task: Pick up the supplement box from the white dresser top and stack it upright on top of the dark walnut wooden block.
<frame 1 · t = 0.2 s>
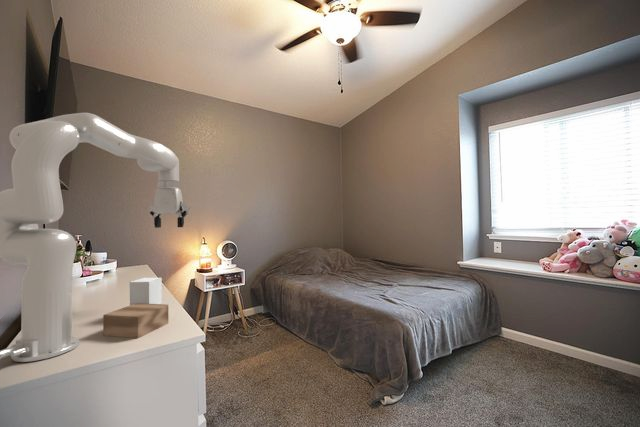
hand: (169, 227, 118), 31 cm above the dresser top, tool pointing down, fingers open, 9 cm apart
walnut block: (137, 328, 89), on the dresser top
supplement box: (146, 315, 102), on the dresser top
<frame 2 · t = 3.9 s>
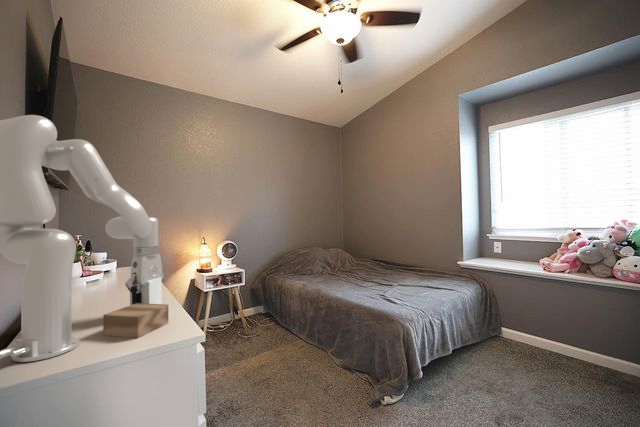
hand: (146, 300, 102), 5 cm above the dresser top, tool pointing down, fingers closed on supplement box, 7 cm apart
supplement box: (146, 315, 102), on the dresser top, touching gripper
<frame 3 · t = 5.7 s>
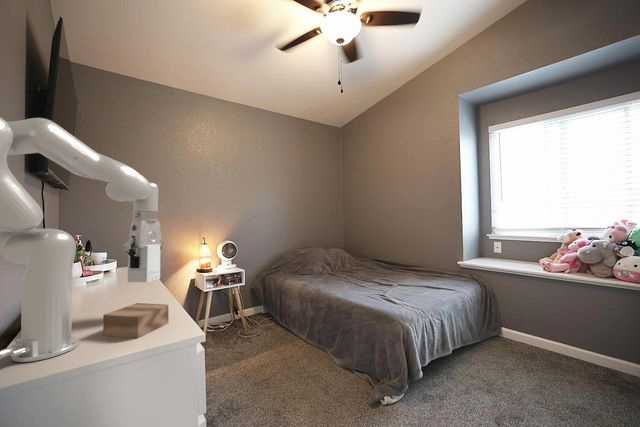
hand: (144, 266, 102), 17 cm above the dresser top, tool pointing down, fingers closed on supplement box, 7 cm apart
supplement box: (144, 281, 102), point 12 cm above the dresser top, touching gripper
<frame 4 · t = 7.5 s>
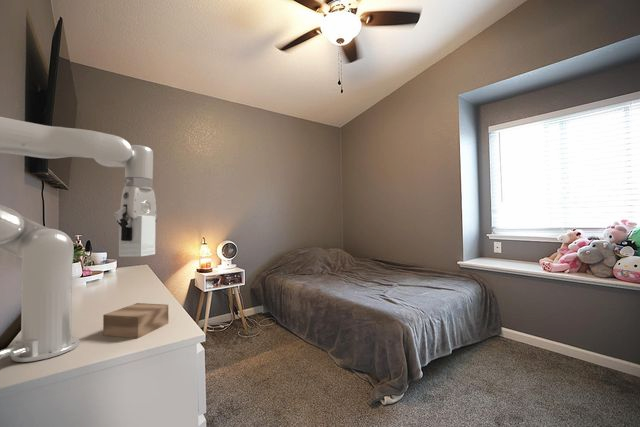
hand: (137, 239, 91), 27 cm above the dresser top, tool pointing down, fingers closed on supplement box, 7 cm apart
supplement box: (137, 256, 91), point 22 cm above the dresser top, touching gripper
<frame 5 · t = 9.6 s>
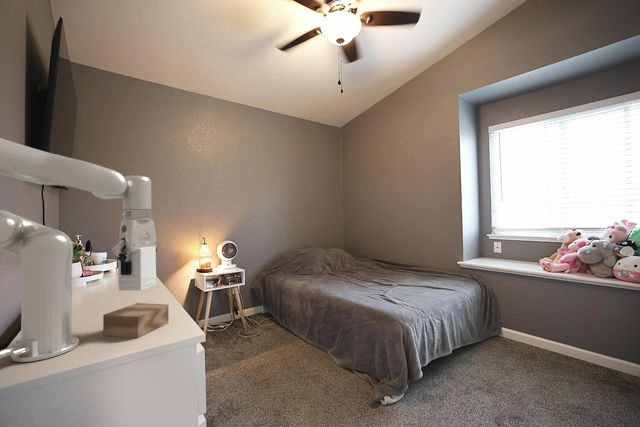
hand: (137, 271, 89), 18 cm above the dresser top, tool pointing down, fingers closed on supplement box, 7 cm apart
supplement box: (138, 288, 89), point 12 cm above the dresser top, touching gripper
when the fingers open (12 cm above the dresser top, at t = 11.3 s): supplement box drops 1 cm, resting on walnut block.
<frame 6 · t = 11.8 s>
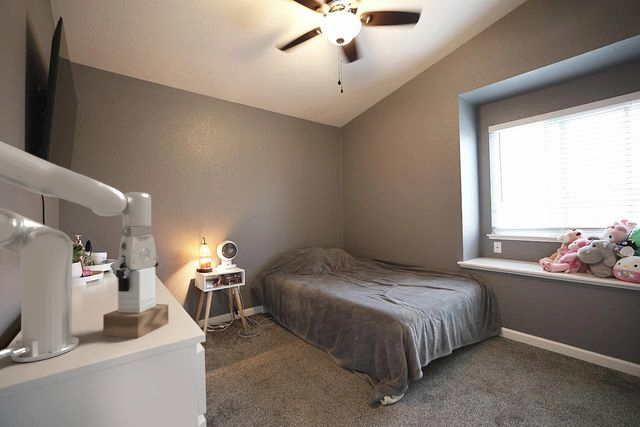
hand: (137, 287, 89), 13 cm above the dresser top, tool pointing down, fingers open, 9 cm apart
supplement box: (137, 310, 89), point 6 cm above the dresser top, touching walnut block
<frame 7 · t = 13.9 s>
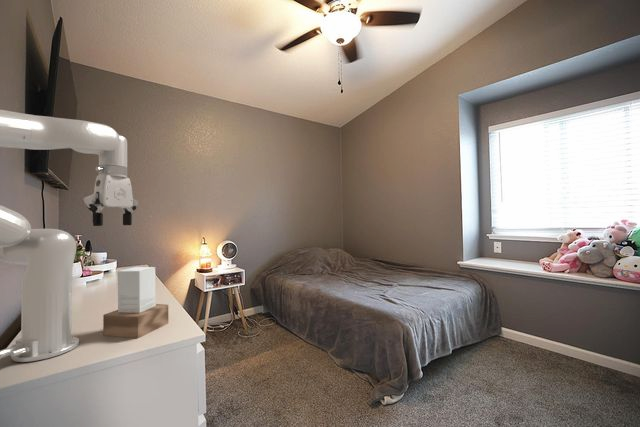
hand: (113, 225, 93), 32 cm above the dresser top, tool pointing down, fingers open, 9 cm apart
nothing on the dresser top moved.
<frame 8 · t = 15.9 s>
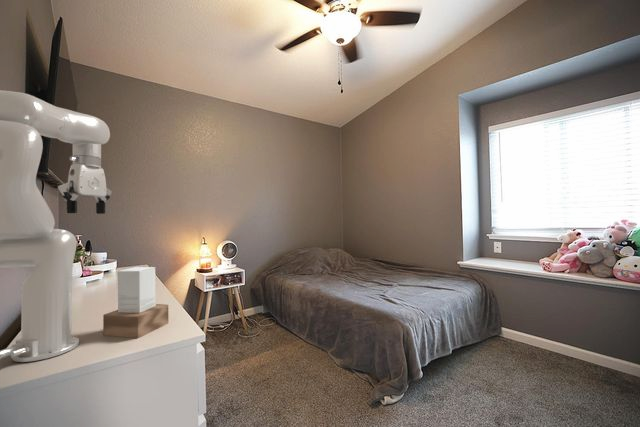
hand: (87, 213, 97), 36 cm above the dresser top, tool pointing down, fingers open, 9 cm apart
nothing on the dresser top moved.
at the end: supplement box 0.0 cm off-centre on the walnut block, point 5.8 cm above the walnut block's base; supplement box tilted 0°; the gripper is holding nothing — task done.
